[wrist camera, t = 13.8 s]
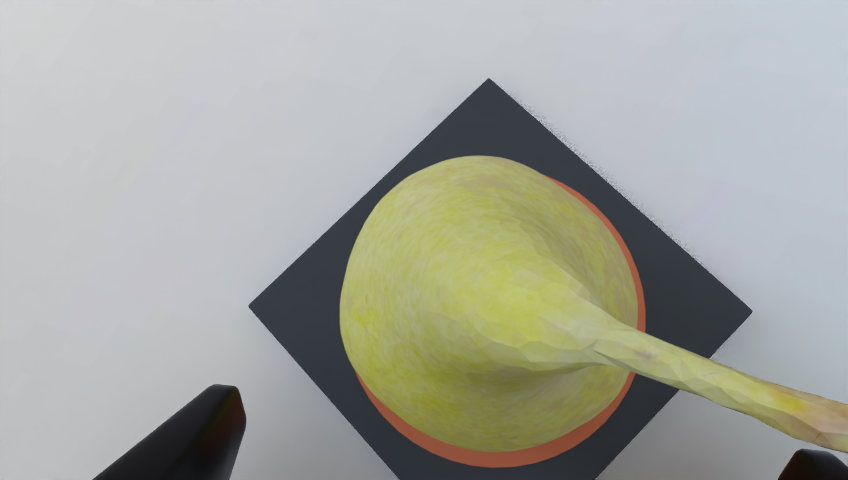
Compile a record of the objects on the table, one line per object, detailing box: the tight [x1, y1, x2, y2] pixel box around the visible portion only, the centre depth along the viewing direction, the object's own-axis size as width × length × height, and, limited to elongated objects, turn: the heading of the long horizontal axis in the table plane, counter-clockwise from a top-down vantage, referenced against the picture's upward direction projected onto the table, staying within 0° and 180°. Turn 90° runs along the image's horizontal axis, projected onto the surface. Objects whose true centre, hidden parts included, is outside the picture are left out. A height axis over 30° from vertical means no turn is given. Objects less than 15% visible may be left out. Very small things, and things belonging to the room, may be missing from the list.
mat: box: [249, 79, 753, 480], centre depth 16 cm, size 11×11×1 cm
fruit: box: [340, 155, 848, 453], centre depth 10 cm, size 7×8×12 cm
